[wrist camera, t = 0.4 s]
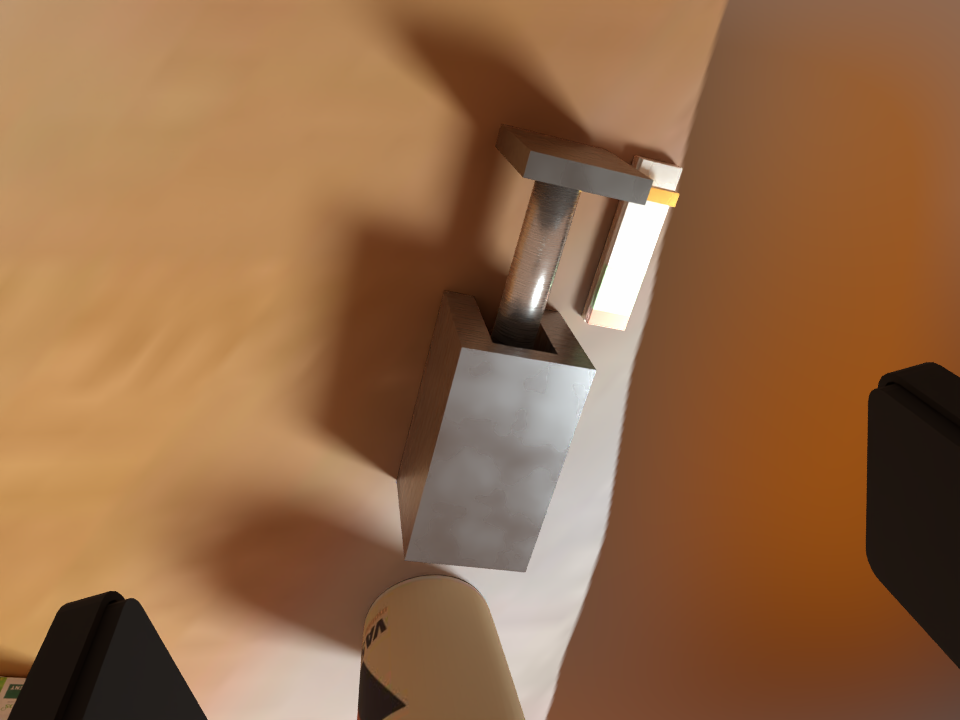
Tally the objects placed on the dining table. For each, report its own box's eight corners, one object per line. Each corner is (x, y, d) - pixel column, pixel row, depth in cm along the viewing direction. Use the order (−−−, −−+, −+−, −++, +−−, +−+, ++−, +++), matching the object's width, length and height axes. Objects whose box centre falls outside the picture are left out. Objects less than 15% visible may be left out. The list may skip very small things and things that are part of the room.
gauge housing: (487, 118, 34) (516, 145, 28) (677, 165, 36) (739, 200, 30) (396, 480, 42) (404, 560, 36) (557, 500, 44) (589, 578, 38)
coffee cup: (349, 566, 44) (350, 754, 33) (510, 559, 45) (560, 737, 35) (349, 683, 48) (349, 884, 37) (496, 673, 49) (536, 863, 39)
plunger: (501, 123, 33) (530, 150, 28) (672, 166, 35) (729, 198, 30) (443, 348, 38) (458, 409, 32) (598, 374, 40) (637, 435, 34)
